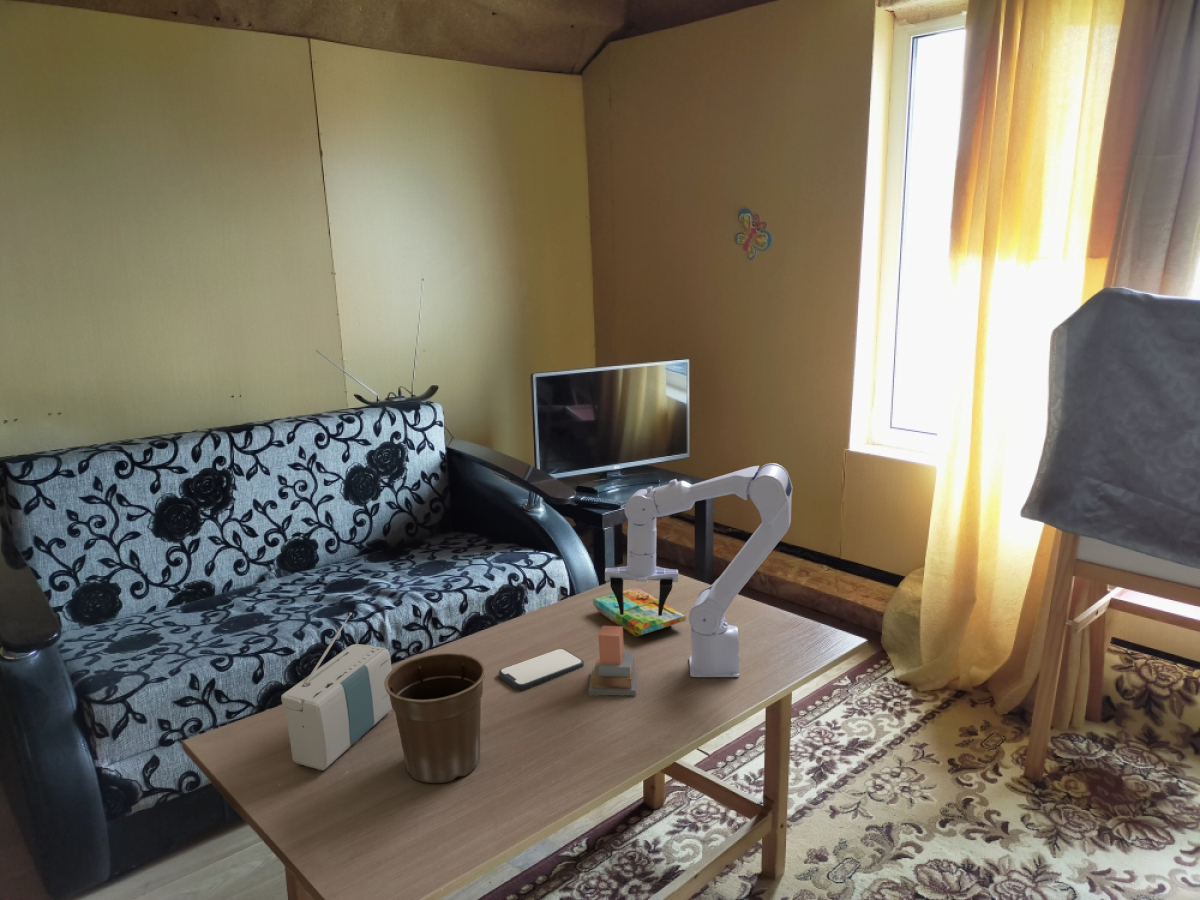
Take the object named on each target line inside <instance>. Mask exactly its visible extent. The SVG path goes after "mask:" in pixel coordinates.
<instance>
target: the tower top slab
mask: <svg viewBox="0 0 1200 900" xmlns="http://www.w3.org/2000/svg"><path fill="white" fill-rule="evenodd" d="M634 654H635V653H634V652H627V651H624V656H623V659H622V662H621V665H615V664H600V663H599V676H615V677H630V676H631V672H632V668H633V664H634V660H635V656H634Z"/></svg>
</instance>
